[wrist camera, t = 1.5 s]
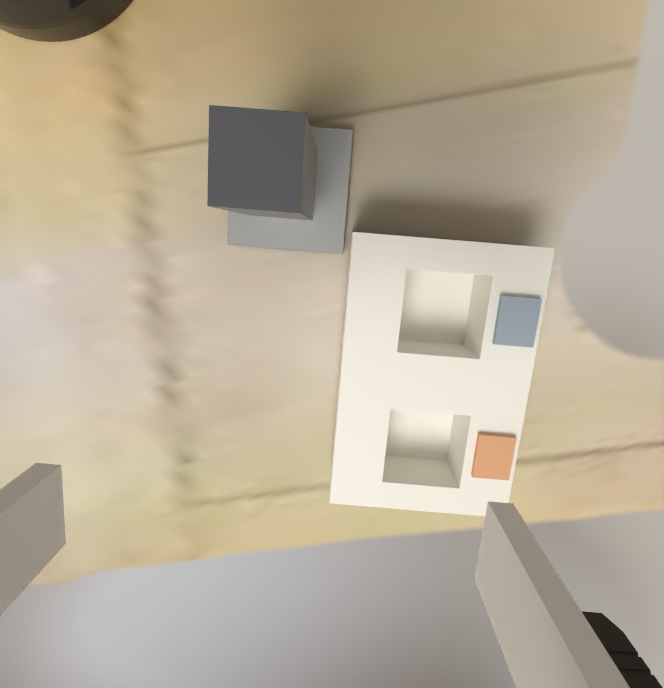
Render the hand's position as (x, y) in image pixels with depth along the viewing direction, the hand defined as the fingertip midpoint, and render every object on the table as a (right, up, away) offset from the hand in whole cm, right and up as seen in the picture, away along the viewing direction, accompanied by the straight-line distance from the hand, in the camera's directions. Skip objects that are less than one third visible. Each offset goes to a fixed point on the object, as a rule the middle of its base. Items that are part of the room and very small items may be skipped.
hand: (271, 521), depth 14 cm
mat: (-1, +16, +18) cm, 24 cm away
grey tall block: (-1, +16, +17) cm, 23 cm away
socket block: (+9, +4, +20) cm, 22 cm away
